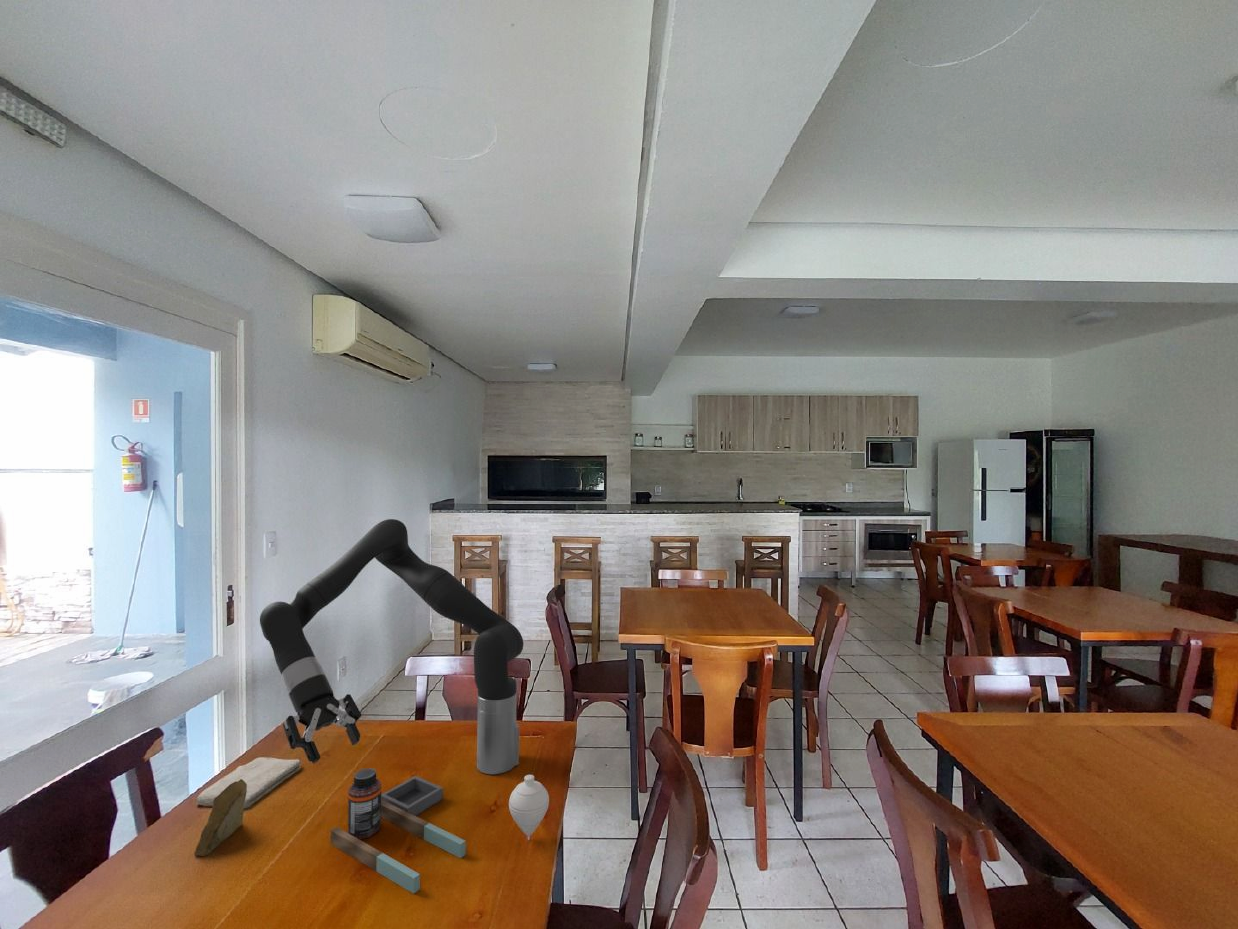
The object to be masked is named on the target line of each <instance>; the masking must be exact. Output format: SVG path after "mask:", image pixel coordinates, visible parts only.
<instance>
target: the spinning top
mask: <svg viewBox="0 0 1238 929" xmlns="http://www.w3.org/2000/svg"><path fill="white" fill-rule="evenodd" d="M523 779H524V781H521V782H520V783H519V784H517V785H516V787H515V788H514V789H513V791H512V792H511V794H510V796H509V800H508V810H509V812H510V815H511V817H512V819H513V821H514V822H515V824H516V825H517V826H518V827H519V829H520V830H521V831H522V833H523V834H524V835H526V837H527V840H528V841H530V837H531V835H532V834H533V833H534V832H535V831H536V830H537V828H538V827H539V825H540V824H541V823H542V821H543V819H544V817H545V815H546V814H547V811H548V808H549V806H550V796H549V792H548V791H547V788H545V786H544V785H543V784H542V783H541V782H539V781H537V780H535V776H534V774H526V775H525V776H524V778H523Z"/></svg>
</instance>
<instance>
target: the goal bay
mask: <svg viewBox="0 0 1238 929" xmlns="http://www.w3.org/2000/svg"><path fill="white" fill-rule="evenodd" d="M423 840H424V841H426V842H428V843H430V844H431V845H433V846H435V847H437V848H440V849H441V850H444V851H446V852H448V853H449V854H451V855H453V856H455V857H456V858H459V859H461V858H464V857H465V855H466V849H467V848H466V847H467V846H466V845H467V844H466V840H465V839H462V838H461V837H458V836H456V835H454V834H453V833H450V832H448V831H446V830H444V829H442V828H440V827H438V826H436V825H434V824H432V823H430V822H428V824H427V825H425V826H424V839H423ZM375 872H376V873H378V874H380V875H382V876H384V877H385V878H387V879H388V880H390V881H391V882H393V883H396V884H397V885H398V886H399V887H401V888H404V889H405V890H406V891H409V892H410V893H412V894H415V893H417V892H418V891H420V887H421V886H420V880H421V873H418V872H417V871H415V870H413V869H412V868H410V867H409V866H406V865H404V864H402V863H401V862H399V861H398V860H395V859H394V858H393V857H391V856H389V855H387V854H385V853H383V852H382V854H380V855H379V856H377V864H376V871H375Z"/></svg>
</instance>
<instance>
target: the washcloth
mask: <svg viewBox="0 0 1238 929" xmlns="http://www.w3.org/2000/svg"><path fill="white" fill-rule="evenodd" d="M301 763H302V761H301V760H299V759H281V758H276V757H275V758H274V757H271V756H270V757H261V756H260V757H256V758H254V759H252V761H250V762H248V763H247V764H246V763H245V764H244V765H238V766H237V767H236V769H234V770H233V771H231V772H230V773H229V774H227V775H225V776H223V777H222V778H220V779H219V780H217V781H216V782H215V783H213V784H212V785H210V786H208V787H207V788H205V789H204V790H202V791H201V793H200V794H199V795H198V796H197V798H196V800H195V804H197V805H199V806H201V805H202V806H204V807H213V801H214V798H215V797H217V796H218V795H219V794H220V793H221V792H222V791H223V790H225V788H227V787H228V786H229V785H230V784H232V783H233V782H235V781H239V780H240V779H242V780H243V781H244V782H245V783H246V784H247V793H246V798H245V802H244V807H243V810H244V809H248V808H250V806H252V805H254V803H256V802H257V801H259V800H260V799H261V798H263V797H265V795H267V794H268V793H270V792H271V791H272V790H273V789H275V788H276V787H278V786H279V785H280V784H281V783H283V782H284V781H285V780H287V779H288V778H290V777H291V776H293V775H294V774H295V773H297V772H299V770H301V769H302V766H301Z"/></svg>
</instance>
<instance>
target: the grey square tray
mask: <svg viewBox="0 0 1238 929" xmlns="http://www.w3.org/2000/svg"><path fill="white" fill-rule="evenodd" d="M443 792H444V787H442V786H440V785H437V784H435V783H432V782H431V781H428V780H426V779H423V778H421V777H419V776H416V775H414V776H413V777H411V778H409V779H407V780H405V781H404V782H402V783H400V784H398V785H395V786H394V787H392V788H391V789H388V790H387V791H385V792H383V793H381V802H383V801H385V802H387V803H389V804H392V805H394V806H396V807H398V808H400V809H402V810H404V811H406V812H408V813H410V814H412V815H414V816H416V817H418V815H420V814H422V813H423V812H425V811H427V810H428V809H430V808H431V807H433V806H435V805H436V804H438V803H439V802H441V801H442V800H443V798H444V797H443V796H444V793H443Z"/></svg>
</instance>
